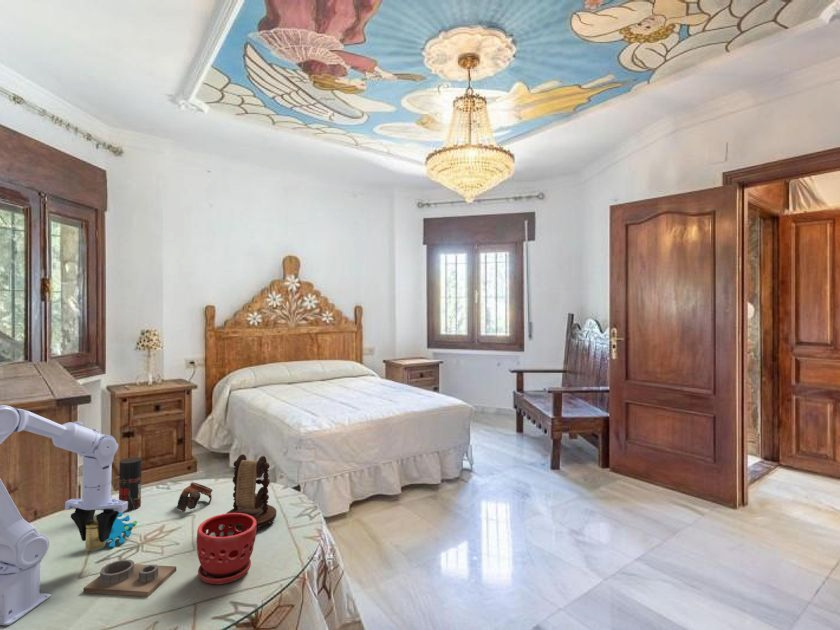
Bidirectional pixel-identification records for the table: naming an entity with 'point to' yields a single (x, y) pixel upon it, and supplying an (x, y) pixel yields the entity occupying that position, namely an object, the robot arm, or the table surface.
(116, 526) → the gear
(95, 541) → the brass nipple
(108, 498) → the robot arm
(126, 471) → the deodorant
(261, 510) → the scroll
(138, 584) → the manifold board
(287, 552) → the table surface
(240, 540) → the plant pot
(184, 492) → the brown leather bracelet
